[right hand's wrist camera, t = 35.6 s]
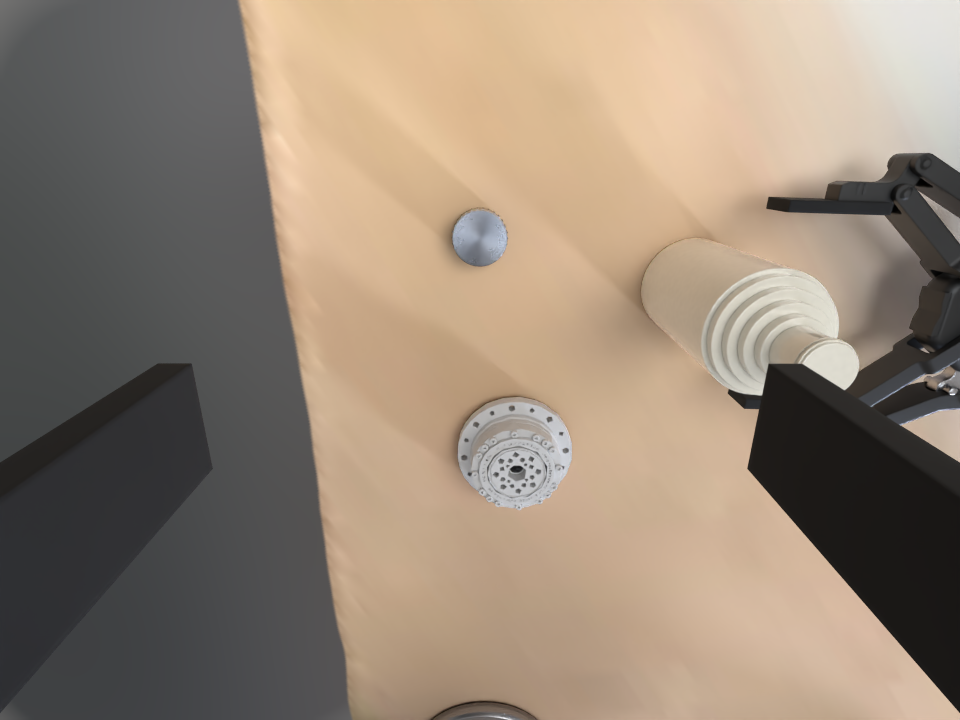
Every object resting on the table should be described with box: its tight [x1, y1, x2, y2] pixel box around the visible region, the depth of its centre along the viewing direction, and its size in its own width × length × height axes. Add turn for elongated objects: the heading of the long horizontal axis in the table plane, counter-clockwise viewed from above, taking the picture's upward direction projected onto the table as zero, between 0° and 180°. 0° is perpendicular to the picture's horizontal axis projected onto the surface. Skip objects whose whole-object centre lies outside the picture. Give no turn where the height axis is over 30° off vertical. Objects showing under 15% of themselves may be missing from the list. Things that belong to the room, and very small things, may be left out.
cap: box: [452, 208, 508, 266], centre depth 41 cm, size 4×4×2 cm
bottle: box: [641, 238, 859, 395], centre depth 34 cm, size 8×8×18 cm
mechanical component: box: [458, 397, 572, 510], centre depth 46 cm, size 10×4×10 cm
